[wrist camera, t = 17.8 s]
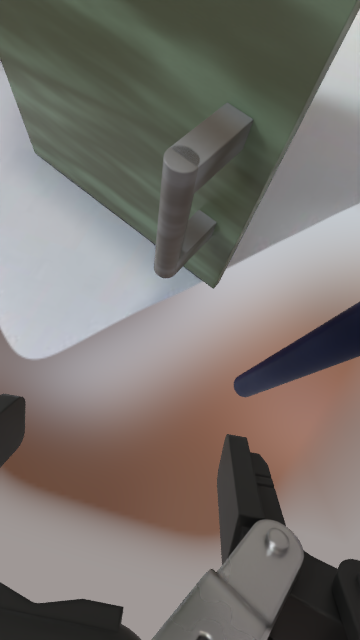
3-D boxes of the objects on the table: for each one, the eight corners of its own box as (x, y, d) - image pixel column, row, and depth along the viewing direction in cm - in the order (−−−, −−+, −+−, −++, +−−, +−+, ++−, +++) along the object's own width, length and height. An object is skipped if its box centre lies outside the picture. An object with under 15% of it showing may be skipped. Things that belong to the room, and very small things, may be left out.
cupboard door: (177, 329, 29) (296, -3, 7) (-9, 180, 32) (-315, -351, 11) (218, 282, 31) (401, -72, 10) (41, 148, 35) (-123, -336, 13)
